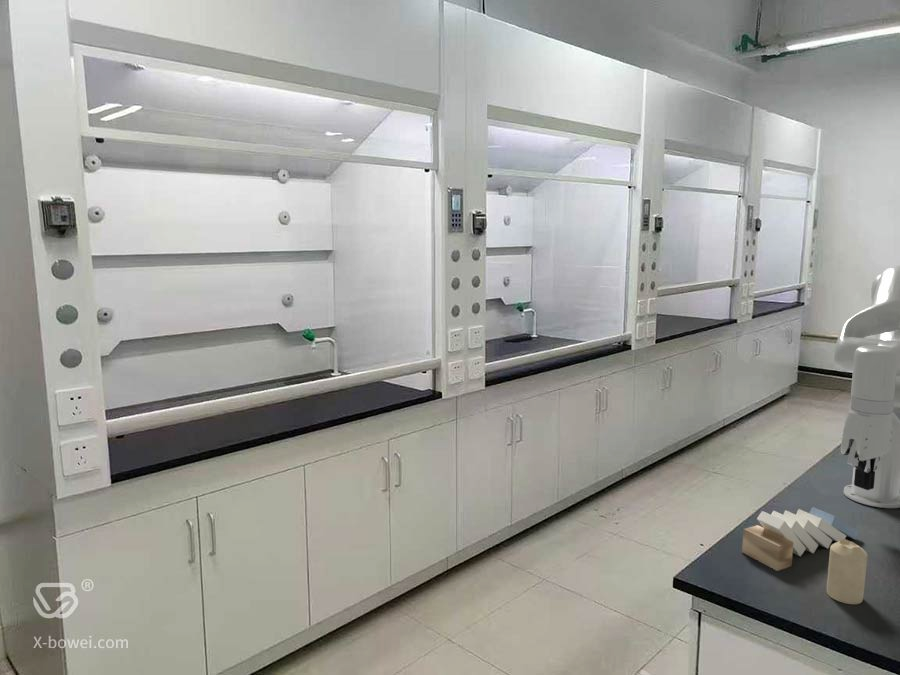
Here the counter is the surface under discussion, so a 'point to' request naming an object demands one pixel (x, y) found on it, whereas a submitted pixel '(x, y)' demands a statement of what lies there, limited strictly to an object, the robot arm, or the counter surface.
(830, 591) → the candle
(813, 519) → the domino
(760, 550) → the end block
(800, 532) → the domino
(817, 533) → the domino
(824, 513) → the domino
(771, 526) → the domino
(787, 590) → the counter surface
